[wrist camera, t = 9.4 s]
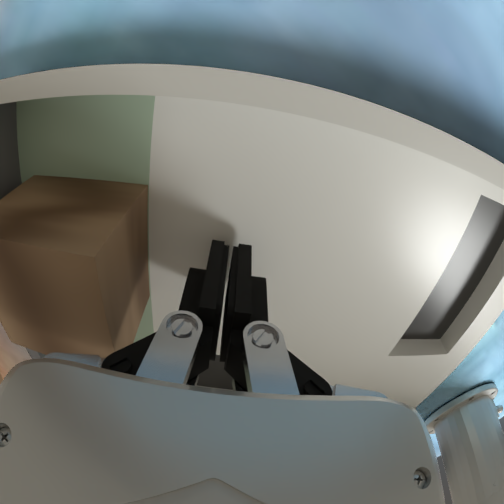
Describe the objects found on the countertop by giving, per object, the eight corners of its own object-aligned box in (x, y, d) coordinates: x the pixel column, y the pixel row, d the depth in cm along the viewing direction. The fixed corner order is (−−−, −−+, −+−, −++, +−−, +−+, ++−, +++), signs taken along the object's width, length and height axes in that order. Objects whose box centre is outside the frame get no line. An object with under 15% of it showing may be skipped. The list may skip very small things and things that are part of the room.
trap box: (543, 191, 13) (588, 228, 8) (405, 396, 26) (417, 436, 22) (28, 73, 10) (-42, 91, 5) (84, 368, 23) (68, 413, 19)
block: (148, 185, 11) (94, 257, 7) (149, 295, 15) (122, 377, 10) (34, 175, 11) (-36, 230, 7) (53, 275, 14) (11, 341, 10)
